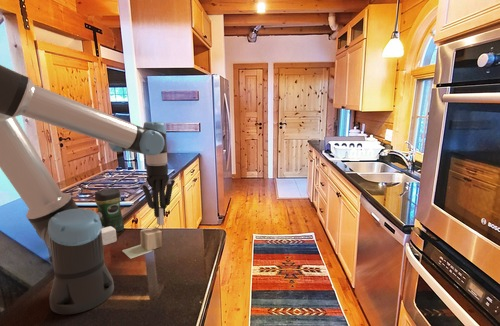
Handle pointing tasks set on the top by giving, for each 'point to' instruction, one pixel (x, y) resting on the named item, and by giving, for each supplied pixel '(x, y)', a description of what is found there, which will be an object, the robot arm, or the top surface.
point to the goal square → (135, 251)
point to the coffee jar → (109, 208)
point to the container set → (108, 235)
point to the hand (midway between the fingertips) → (160, 224)
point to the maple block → (151, 238)
